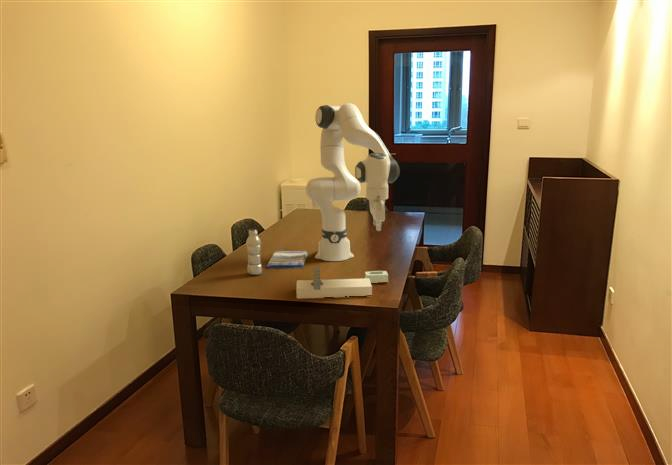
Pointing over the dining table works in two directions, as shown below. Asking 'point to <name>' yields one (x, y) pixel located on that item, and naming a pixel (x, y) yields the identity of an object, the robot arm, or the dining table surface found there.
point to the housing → (334, 288)
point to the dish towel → (287, 259)
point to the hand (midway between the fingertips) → (377, 227)
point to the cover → (377, 276)
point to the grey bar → (316, 278)
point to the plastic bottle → (254, 253)
